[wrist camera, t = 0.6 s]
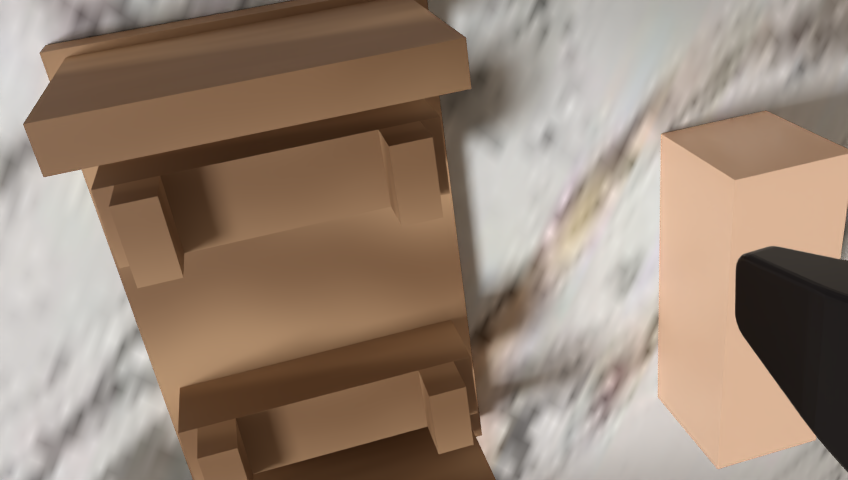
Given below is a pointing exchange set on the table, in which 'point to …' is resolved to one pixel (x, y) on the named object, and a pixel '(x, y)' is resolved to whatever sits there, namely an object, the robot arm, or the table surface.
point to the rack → (283, 231)
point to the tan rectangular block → (716, 268)
